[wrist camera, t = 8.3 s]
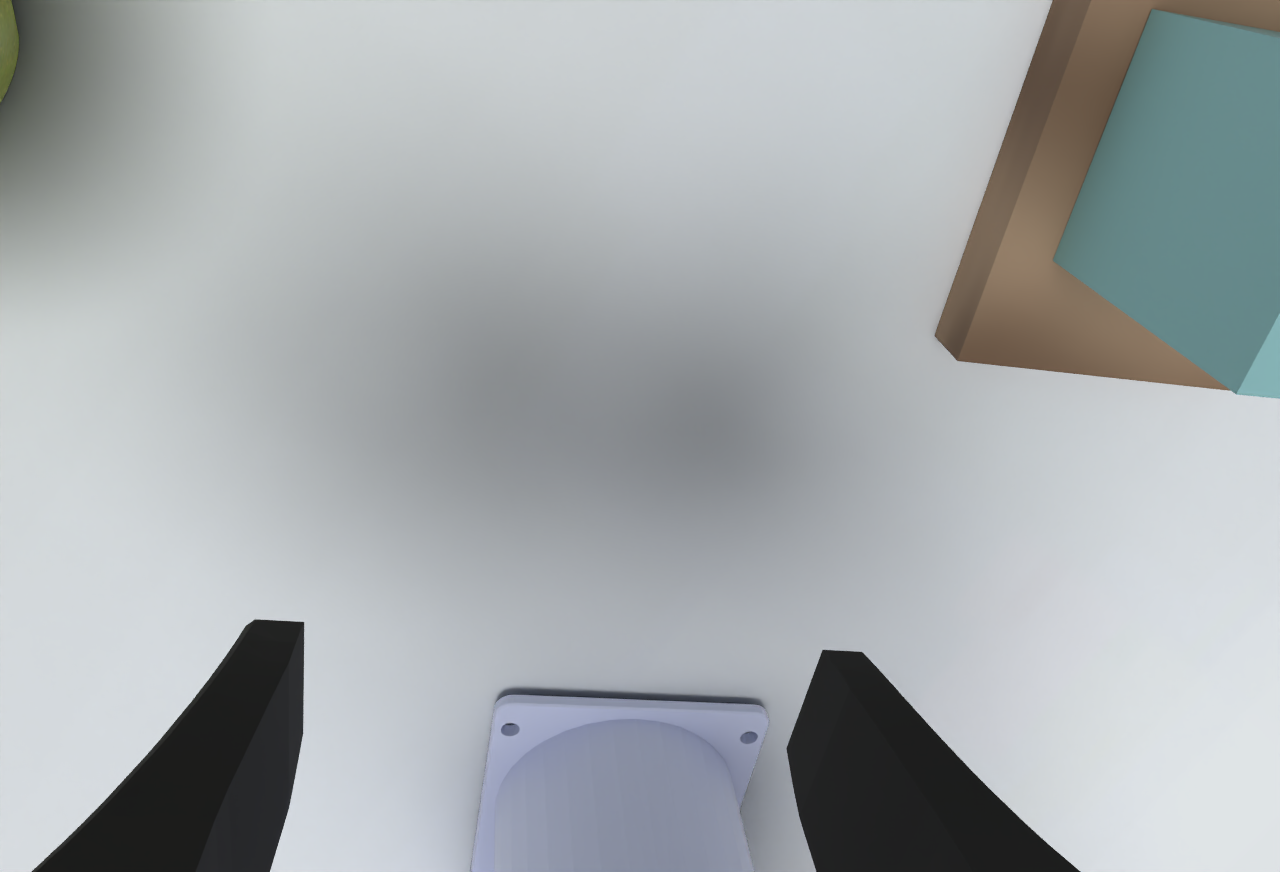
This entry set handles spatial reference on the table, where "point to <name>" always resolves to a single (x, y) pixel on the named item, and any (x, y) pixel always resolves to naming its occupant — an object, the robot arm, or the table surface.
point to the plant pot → (7, 45)
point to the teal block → (1191, 198)
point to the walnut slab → (1064, 206)
